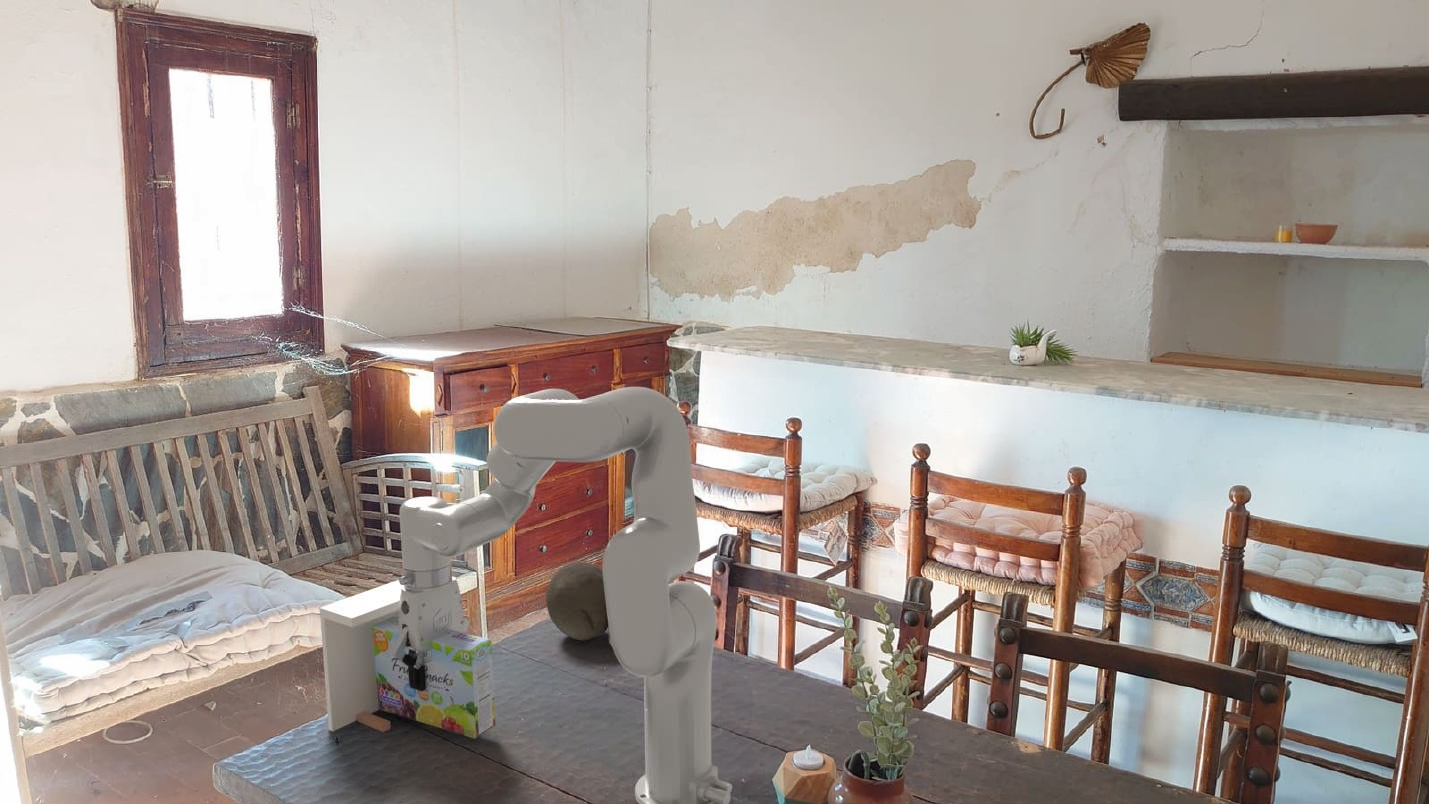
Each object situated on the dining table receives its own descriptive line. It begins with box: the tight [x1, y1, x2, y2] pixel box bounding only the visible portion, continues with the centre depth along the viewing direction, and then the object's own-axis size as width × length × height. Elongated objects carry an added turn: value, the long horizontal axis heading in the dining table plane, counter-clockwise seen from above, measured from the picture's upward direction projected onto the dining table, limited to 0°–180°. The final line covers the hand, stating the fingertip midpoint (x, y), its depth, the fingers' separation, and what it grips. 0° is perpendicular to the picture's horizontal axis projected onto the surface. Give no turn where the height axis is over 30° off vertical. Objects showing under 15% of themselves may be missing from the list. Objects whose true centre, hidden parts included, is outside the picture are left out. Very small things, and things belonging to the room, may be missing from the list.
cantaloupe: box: [545, 562, 608, 642], centre depth 209 cm, size 14×14×15 cm
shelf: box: [319, 579, 404, 733], centre depth 177 cm, size 8×20×21 cm, turn 146°
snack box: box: [372, 616, 496, 739], centre depth 172 cm, size 21×6×15 cm, turn 62°
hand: (433, 680), depth 172 cm, fingers closed on snack box, 5 cm apart
